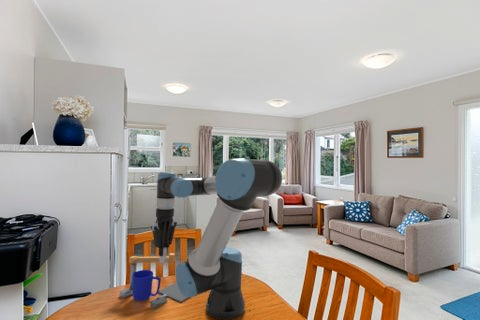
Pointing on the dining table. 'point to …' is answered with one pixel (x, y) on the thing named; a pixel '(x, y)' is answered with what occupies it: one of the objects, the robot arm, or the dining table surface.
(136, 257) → the ball-tipped wooden rod
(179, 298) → the coaster
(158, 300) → the dock
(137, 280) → the mug
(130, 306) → the dining table surface
